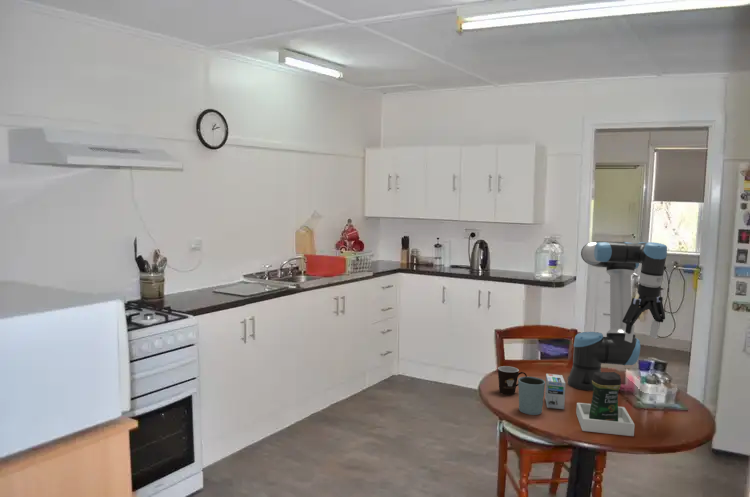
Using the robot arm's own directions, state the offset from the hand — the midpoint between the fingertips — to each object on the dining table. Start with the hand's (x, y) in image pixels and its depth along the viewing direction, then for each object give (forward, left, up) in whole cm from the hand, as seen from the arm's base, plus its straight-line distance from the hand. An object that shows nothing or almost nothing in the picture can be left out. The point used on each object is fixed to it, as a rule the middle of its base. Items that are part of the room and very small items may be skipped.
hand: (640, 339), depth 218 cm
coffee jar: (+18, +1, -29) cm, 34 cm away
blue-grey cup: (+34, -20, -30) cm, 50 cm away
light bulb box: (+20, -22, -30) cm, 42 cm away
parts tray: (+18, +1, -30) cm, 35 cm away
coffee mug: (+28, -39, -30) cm, 56 cm away
